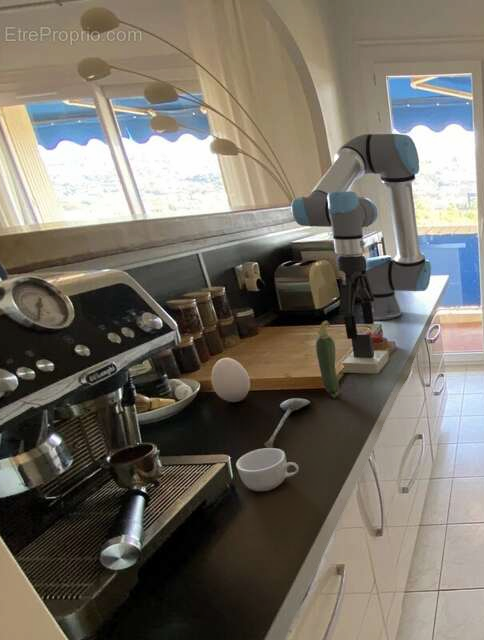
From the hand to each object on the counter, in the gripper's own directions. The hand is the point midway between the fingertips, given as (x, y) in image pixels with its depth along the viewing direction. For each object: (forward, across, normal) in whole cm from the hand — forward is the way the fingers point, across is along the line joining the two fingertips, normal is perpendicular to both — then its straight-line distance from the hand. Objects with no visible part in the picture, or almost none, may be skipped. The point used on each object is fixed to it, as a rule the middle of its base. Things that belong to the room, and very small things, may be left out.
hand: (361, 330), depth 129 cm
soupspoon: (+10, -36, +6) cm, 38 cm away
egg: (+11, -26, +24) cm, 37 cm away
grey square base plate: (+11, 0, 0) cm, 11 cm away
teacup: (+10, -58, -3) cm, 59 cm away
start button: (+7, +12, 0) cm, 14 cm away
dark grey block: (+8, 0, 0) cm, 8 cm away
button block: (+11, +12, 0) cm, 16 cm away
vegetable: (+11, -22, +1) cm, 24 cm away
